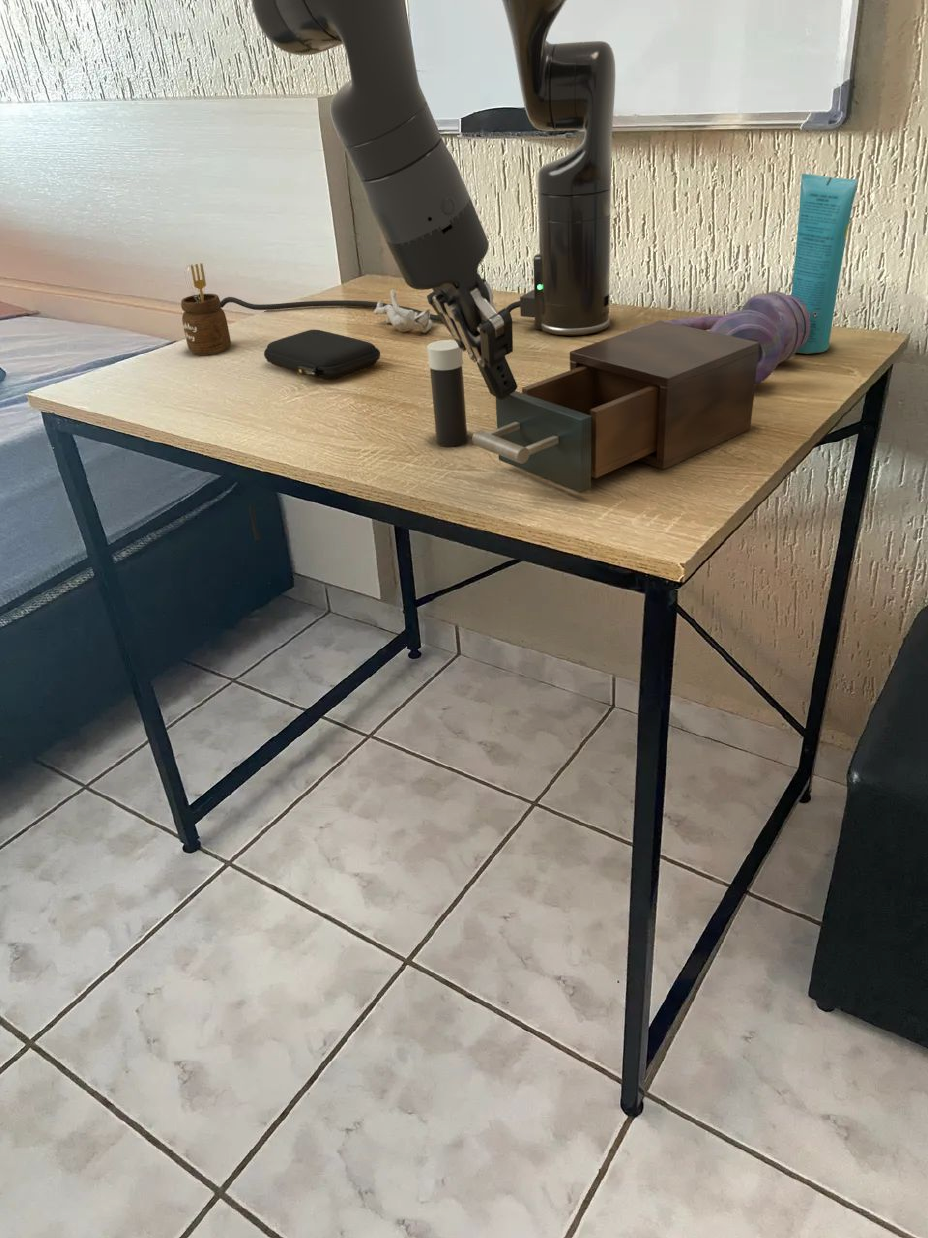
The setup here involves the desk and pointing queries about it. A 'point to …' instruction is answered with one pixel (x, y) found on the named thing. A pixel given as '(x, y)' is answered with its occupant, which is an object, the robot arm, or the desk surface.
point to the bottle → (448, 392)
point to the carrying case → (322, 354)
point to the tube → (821, 251)
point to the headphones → (762, 327)
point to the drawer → (575, 426)
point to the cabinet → (684, 383)
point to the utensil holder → (204, 320)
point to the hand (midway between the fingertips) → (505, 392)
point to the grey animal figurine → (404, 316)
